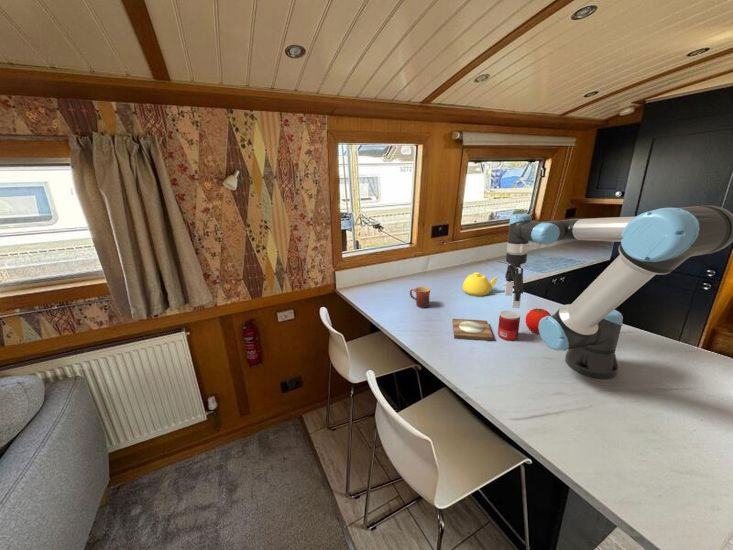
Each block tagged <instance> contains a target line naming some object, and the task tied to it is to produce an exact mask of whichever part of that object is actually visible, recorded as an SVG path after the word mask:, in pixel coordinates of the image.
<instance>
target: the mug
mask: <svg viewBox="0 0 733 550" xmlns="http://www.w3.org/2000/svg"><path fill="white" fill-rule="evenodd" d="M413 291H414V293H415V295H416V296H414V295H413V293H412V292H413ZM431 291H432V289H431V288H430V287H429V286H428V287H427V286H417V287H415V288H411V289H410V290H409V296H410V297H411V299H412V300H414V301H415V303H416V306H417V307H418V308H420V307H423V308H422V309H425V308H424V307H426V308H428V307H430V293H431Z"/></svg>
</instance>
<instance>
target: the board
mask: <svg viewBox="0 0 733 550" xmlns="http://www.w3.org/2000/svg"><path fill="white" fill-rule="evenodd" d="M452 331H453V338H454V339H455V340H471V341H484V342H493V341H494V336H493V333H492V331H491V328H490V325H489V322H488V320H481V319H466V318H452Z"/></svg>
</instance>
